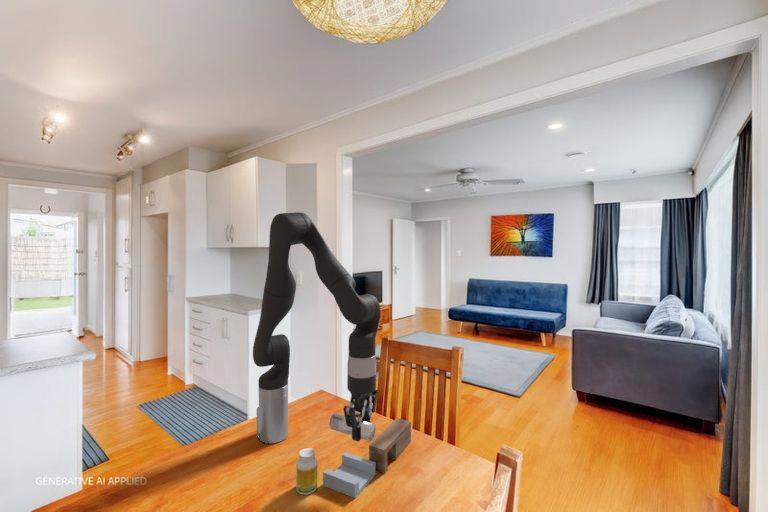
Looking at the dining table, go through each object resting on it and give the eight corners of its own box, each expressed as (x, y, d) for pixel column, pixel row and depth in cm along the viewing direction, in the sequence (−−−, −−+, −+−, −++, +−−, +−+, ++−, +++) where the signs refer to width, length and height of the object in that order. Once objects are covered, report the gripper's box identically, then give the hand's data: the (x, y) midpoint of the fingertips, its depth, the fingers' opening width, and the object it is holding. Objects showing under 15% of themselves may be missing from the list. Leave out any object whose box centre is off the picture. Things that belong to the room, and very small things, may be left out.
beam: (369, 468, 99) (369, 445, 99) (396, 437, 115) (396, 417, 115) (384, 473, 97) (384, 450, 96) (410, 441, 112) (410, 421, 112)
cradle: (323, 485, 92) (323, 472, 92) (345, 464, 101) (345, 452, 101) (355, 498, 87) (355, 484, 87) (375, 474, 96) (375, 462, 96)
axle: (329, 431, 94) (329, 416, 95) (338, 425, 98) (338, 410, 98) (367, 444, 89) (367, 427, 89) (375, 436, 93) (375, 420, 93)
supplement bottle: (294, 485, 92) (294, 449, 92) (314, 479, 94) (314, 444, 94) (298, 498, 87) (298, 460, 87) (319, 491, 90) (319, 455, 89)
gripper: (359, 383, 84) (359, 454, 84) (387, 365, 96) (386, 426, 97) (334, 377, 87) (333, 445, 88) (363, 361, 100) (363, 420, 100)
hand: (361, 435), depth 92 cm, fingers closed on axle, 4 cm apart
